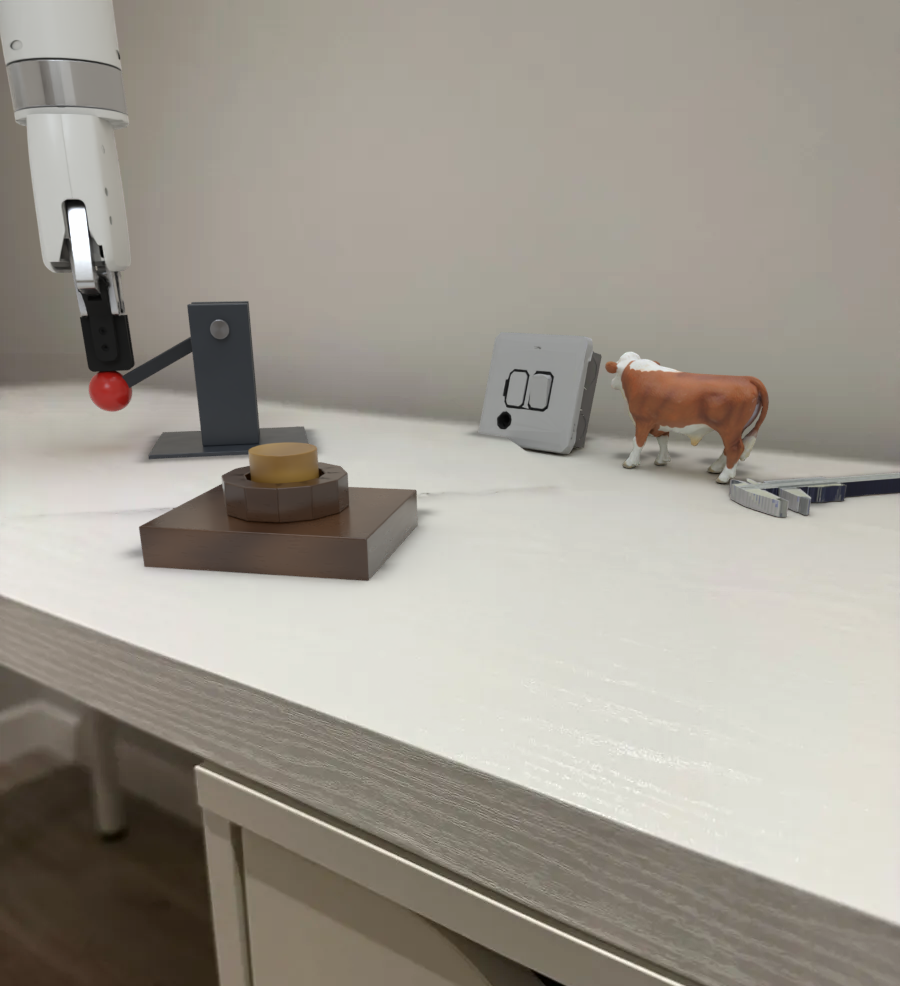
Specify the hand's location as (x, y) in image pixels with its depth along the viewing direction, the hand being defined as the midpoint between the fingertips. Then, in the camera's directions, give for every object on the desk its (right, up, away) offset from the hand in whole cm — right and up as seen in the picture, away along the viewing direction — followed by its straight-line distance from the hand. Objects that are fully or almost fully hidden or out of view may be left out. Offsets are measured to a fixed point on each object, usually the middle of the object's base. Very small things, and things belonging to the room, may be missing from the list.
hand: (112, 369), depth 68 cm
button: (+17, -12, -21) cm, 30 cm away
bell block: (+17, -15, -20) cm, 30 cm away
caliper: (+55, -11, -12) cm, 58 cm away
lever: (+5, 0, +1) cm, 5 cm away
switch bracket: (+8, -6, +4) cm, 11 cm away
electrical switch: (+34, -5, +7) cm, 35 cm away
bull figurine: (+43, -8, -3) cm, 44 cm away
